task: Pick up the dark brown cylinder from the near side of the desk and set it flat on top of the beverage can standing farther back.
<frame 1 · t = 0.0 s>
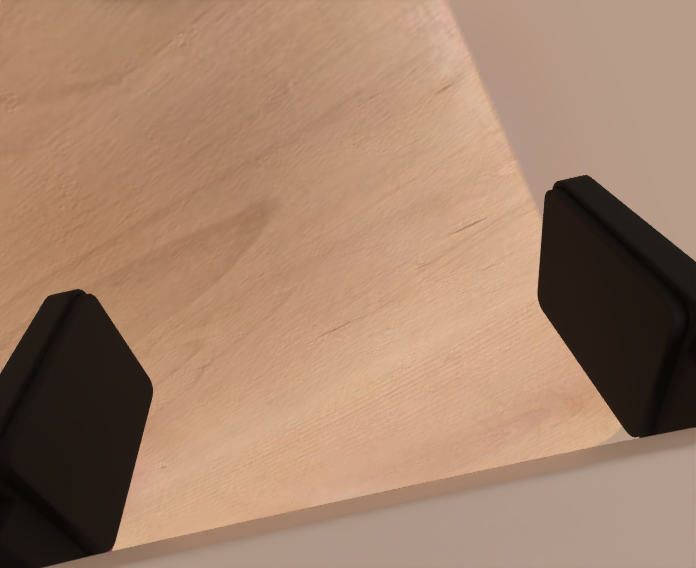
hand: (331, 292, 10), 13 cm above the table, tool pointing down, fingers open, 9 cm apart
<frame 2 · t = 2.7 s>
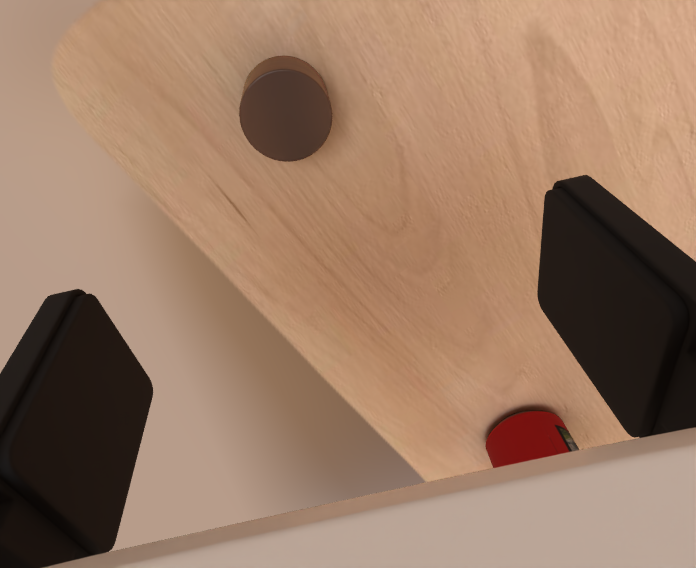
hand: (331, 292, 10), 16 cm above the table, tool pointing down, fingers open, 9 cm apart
dark brown cylinder: (285, 101, 23), on the table
beverage can: (519, 427, 42), on the table
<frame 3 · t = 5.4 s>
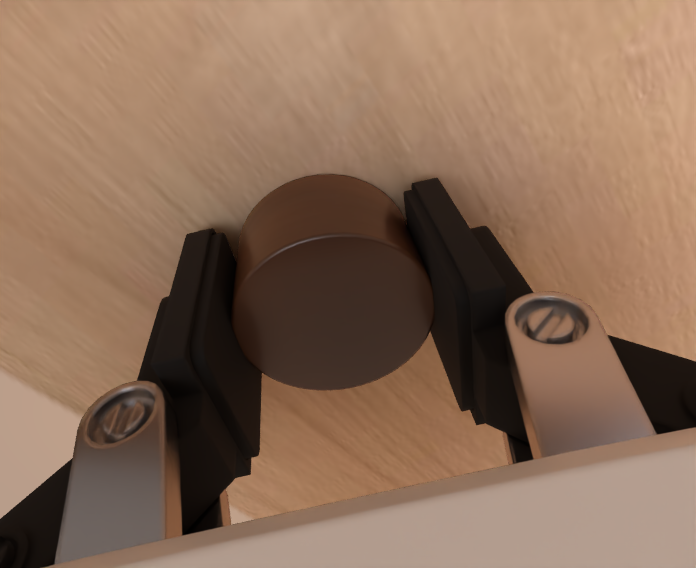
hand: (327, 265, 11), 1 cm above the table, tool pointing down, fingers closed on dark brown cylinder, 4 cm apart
dark brown cylinder: (325, 252, 11), on the table, touching gripper
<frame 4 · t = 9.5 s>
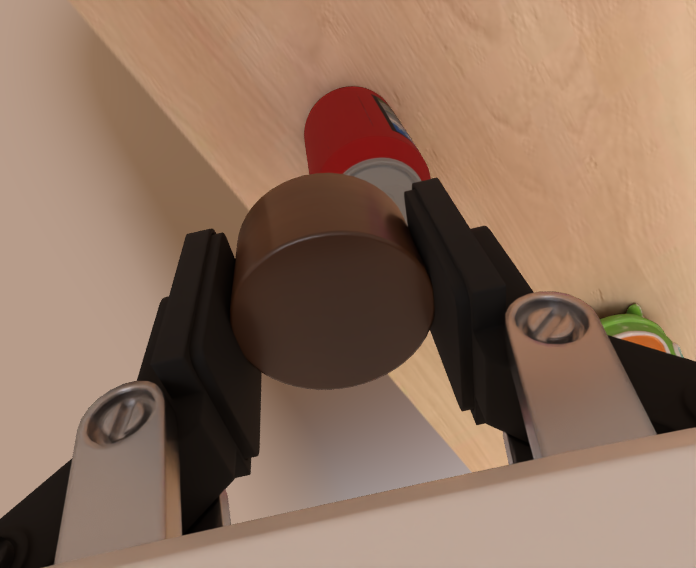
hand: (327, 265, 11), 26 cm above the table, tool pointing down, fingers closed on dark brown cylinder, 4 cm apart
dark brown cylinder: (324, 251, 11), point 25 cm above the table, touching gripper
turtle holder: (594, 351, 55), on the table
beverage can: (348, 129, 36), on the table
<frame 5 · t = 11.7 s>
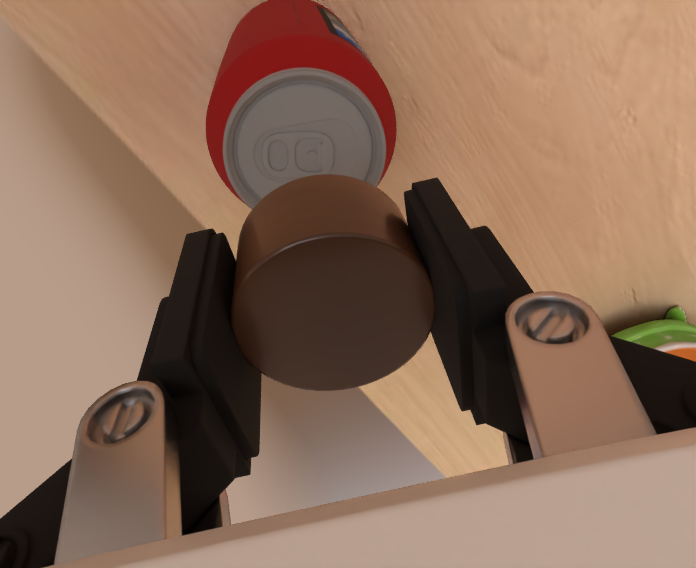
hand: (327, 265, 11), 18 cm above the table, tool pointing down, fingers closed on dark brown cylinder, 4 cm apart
dark brown cylinder: (325, 252, 11), point 18 cm above the table, touching gripper
turtle holder: (622, 365, 44), on the table
beverage can: (292, 67, 25), on the table
when the fingers open (13 cm above the table, at t = 13.5 s): dark brown cylinder stays where it is, resting on beverage can.
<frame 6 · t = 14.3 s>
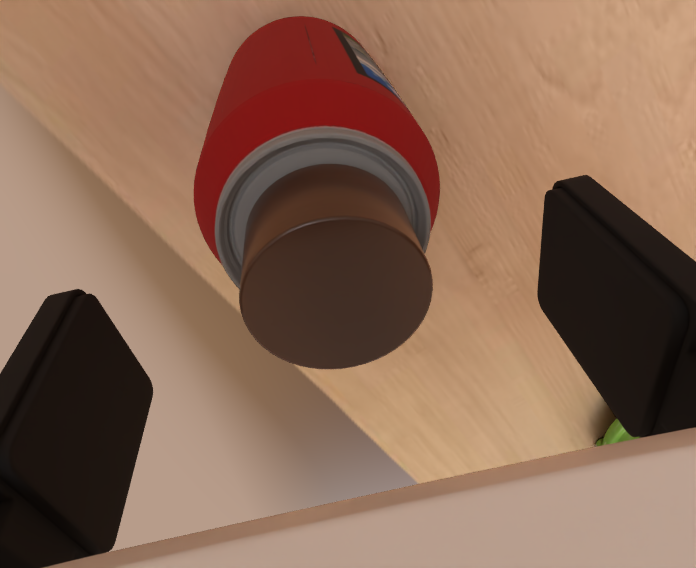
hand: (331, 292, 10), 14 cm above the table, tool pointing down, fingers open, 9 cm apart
dark brown cylinder: (327, 239, 12), point 12 cm above the table, touching beverage can
turtle holder: (661, 412, 40), on the table
beverage can: (302, 97, 22), on the table, touching dark brown cylinder
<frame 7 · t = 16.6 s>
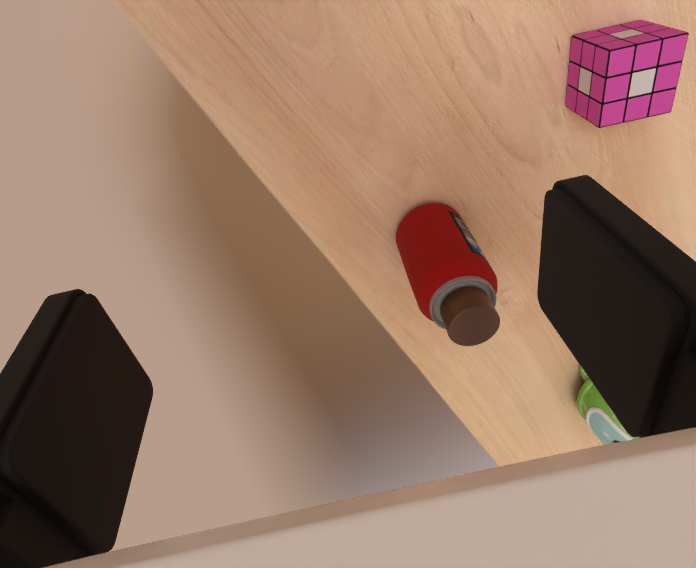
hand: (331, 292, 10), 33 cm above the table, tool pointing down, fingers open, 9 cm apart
puzzle toy: (600, 64, 40), on the table
dark brown cylinder: (464, 306, 38), point 12 cm above the table, touching beverage can
turtle holder: (615, 381, 66), on the table
beverage can: (427, 228, 48), on the table, touching dark brown cylinder
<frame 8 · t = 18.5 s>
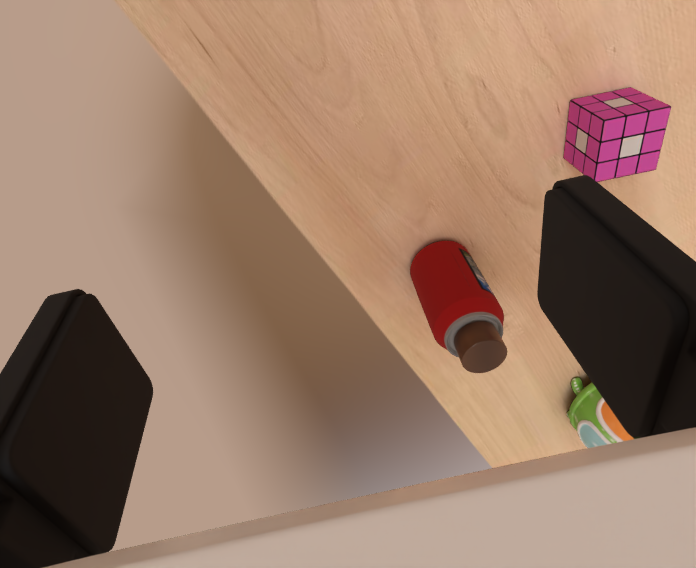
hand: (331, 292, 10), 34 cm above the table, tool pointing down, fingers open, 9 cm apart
puzzle toy: (594, 123, 46), on the table
dark brown cylinder: (475, 337, 44), point 12 cm above the table, touching beverage can
turtle holder: (603, 394, 72), on the table
beverage can: (437, 261, 53), on the table, touching dark brown cylinder
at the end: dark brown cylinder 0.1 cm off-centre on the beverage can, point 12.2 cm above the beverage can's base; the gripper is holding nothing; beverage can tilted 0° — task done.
